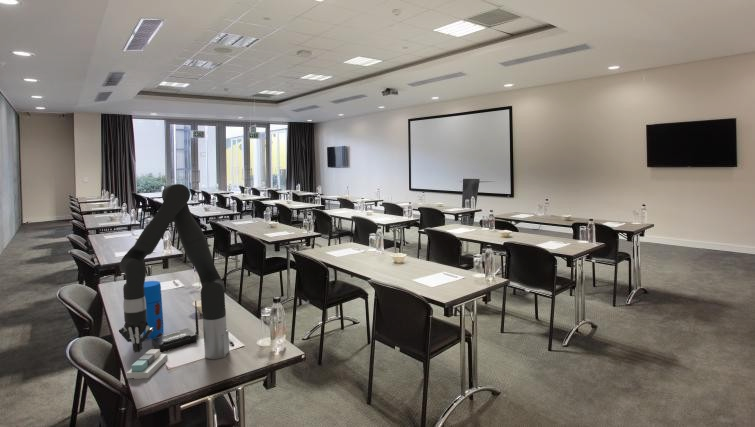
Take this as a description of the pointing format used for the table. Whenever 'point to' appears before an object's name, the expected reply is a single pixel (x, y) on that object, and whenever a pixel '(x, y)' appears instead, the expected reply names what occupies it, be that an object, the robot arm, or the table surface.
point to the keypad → (148, 368)
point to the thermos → (154, 308)
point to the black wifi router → (176, 338)
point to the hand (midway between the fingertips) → (137, 351)
